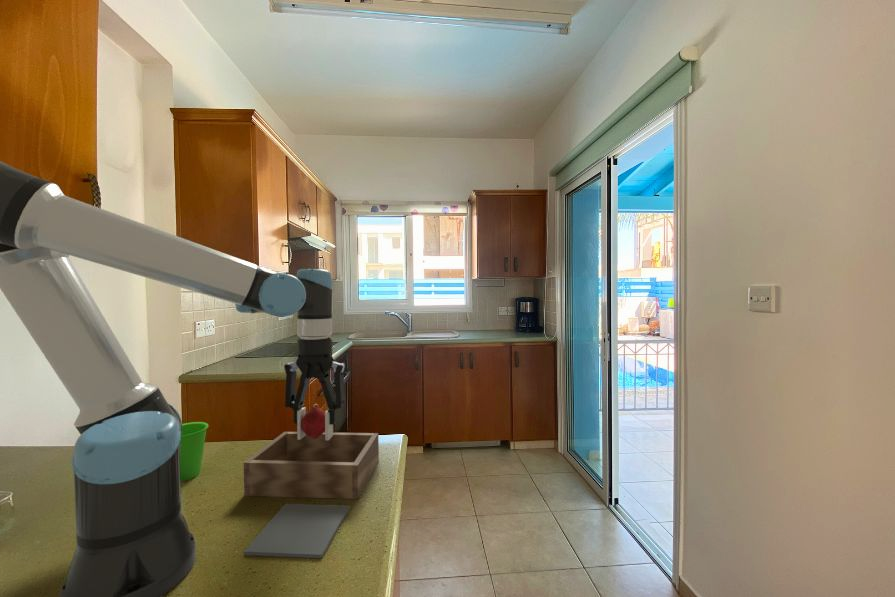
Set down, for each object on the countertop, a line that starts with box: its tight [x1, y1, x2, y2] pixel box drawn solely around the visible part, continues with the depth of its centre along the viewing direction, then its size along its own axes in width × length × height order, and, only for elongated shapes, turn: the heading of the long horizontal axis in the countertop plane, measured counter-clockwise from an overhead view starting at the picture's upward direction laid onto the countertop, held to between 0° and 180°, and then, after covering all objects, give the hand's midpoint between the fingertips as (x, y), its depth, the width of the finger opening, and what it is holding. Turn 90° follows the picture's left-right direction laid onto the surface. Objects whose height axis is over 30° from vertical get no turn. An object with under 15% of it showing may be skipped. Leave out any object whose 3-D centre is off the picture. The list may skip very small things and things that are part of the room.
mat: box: [243, 503, 350, 559], centre depth 64 cm, size 13×13×1 cm
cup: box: [180, 421, 210, 482], centre depth 83 cm, size 9×9×11 cm
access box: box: [243, 431, 380, 500], centre depth 82 cm, size 24×16×7 cm
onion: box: [301, 403, 325, 439], centre depth 82 cm, size 6×6×8 cm
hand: (315, 437), depth 82 cm, fingers closed on onion, 6 cm apart
